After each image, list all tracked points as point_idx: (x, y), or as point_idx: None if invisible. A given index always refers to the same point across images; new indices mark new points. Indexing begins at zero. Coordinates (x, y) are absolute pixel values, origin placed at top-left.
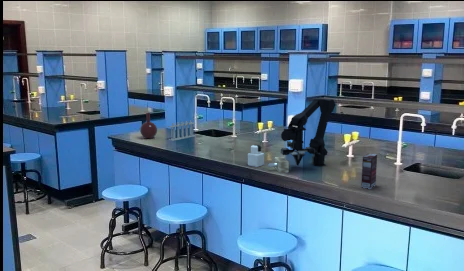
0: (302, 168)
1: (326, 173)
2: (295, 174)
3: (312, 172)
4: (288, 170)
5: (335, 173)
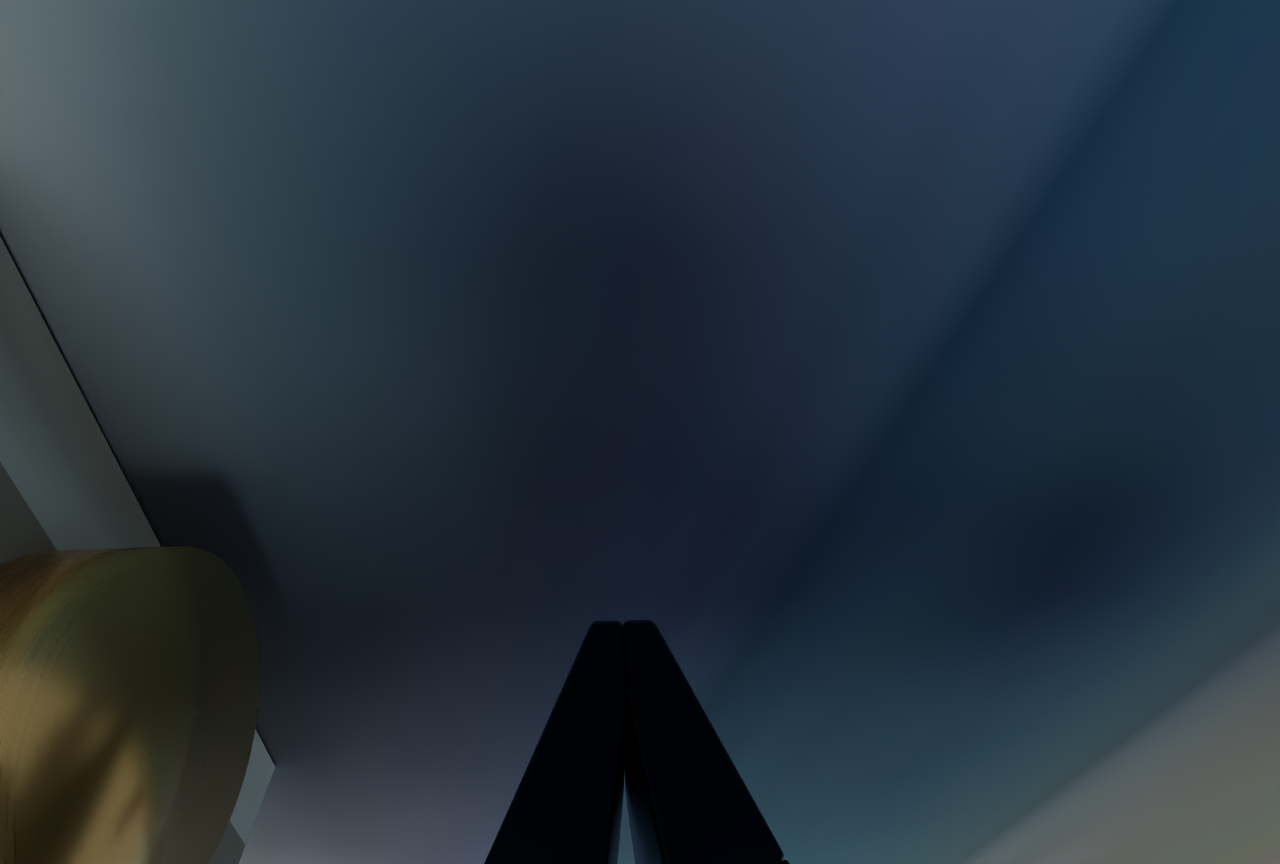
0: (825, 487)
1: (1098, 831)
2: (436, 855)
3: (874, 781)
4: (246, 827)
5: (1252, 835)
